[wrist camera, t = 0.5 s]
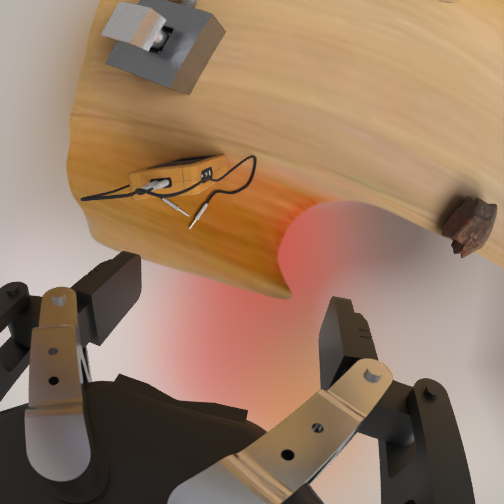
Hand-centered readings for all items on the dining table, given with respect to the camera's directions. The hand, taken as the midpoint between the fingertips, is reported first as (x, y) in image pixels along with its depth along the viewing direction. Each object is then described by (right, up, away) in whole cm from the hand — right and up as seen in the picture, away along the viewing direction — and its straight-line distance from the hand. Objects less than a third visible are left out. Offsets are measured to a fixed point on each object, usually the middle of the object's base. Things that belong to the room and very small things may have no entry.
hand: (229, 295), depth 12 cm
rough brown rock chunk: (+32, +6, +24) cm, 41 cm away
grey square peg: (-9, +28, +19) cm, 35 cm away
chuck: (-7, +31, +19) cm, 38 cm away
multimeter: (-5, +10, +28) cm, 30 cm away
